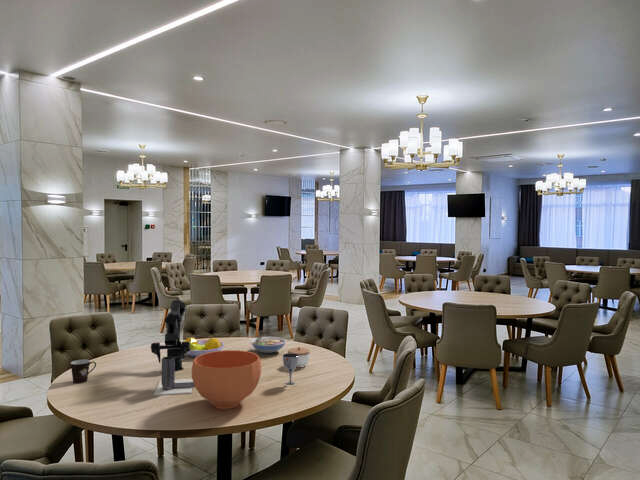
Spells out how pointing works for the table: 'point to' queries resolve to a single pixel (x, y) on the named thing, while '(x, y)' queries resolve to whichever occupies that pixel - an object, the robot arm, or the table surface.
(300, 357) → the lidded bowl
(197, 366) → the flowerpot
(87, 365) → the coffee mug
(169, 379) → the loose hinge half
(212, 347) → the fruit bowl
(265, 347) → the ramen bowl
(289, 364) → the wine glass
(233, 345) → the table surface
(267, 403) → the table surface
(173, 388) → the hinge base
